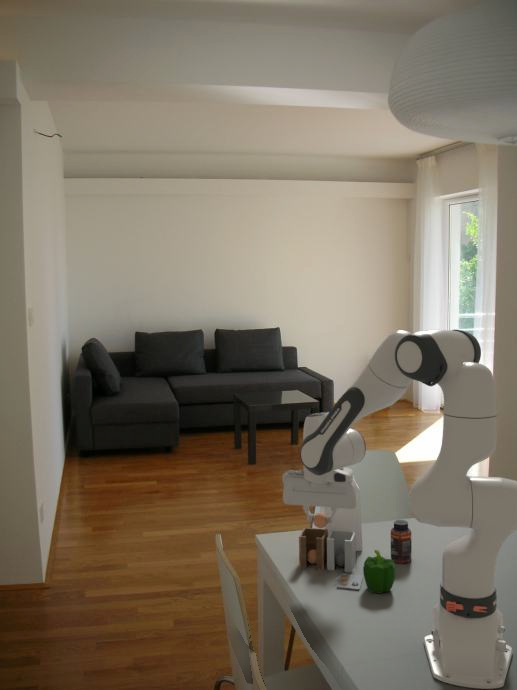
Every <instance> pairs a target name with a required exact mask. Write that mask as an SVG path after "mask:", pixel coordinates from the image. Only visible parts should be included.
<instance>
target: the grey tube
mask: <svg viewBox="0 0 517 690" xmlns="http://www.w3.org/2000/svg"><path fill="white" fill-rule="evenodd" d="M338 552H344V553H345V566H344V572H346V573H353V571H354V568H355V565H356V561H357V559H356V558H357V557H356V554H357V551H356V536H355V532H350V531H339V530H331V531H330V534H329V536H328V538H327V563H326V568H327V569H326V570H327V571H335V560H334V558H335V555H336V554H337V553H338Z"/></svg>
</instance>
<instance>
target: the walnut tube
mask: <svg viewBox="0 0 517 690" xmlns="http://www.w3.org/2000/svg"><path fill="white" fill-rule="evenodd" d="M327 538H328V530H327V529H320V528H313V527H303V529H302V530H301V532H300V533H299V536H298V561H299V562H298V563H299V564H298V565H299V566H298V567H299V568H306V569H307V566H308V565H307V561H308V559H307V553H308V552H309V551H310V550H312V549H315V550H316V554H317V563H316V569H317V570H325V567H326V566H327Z"/></svg>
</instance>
